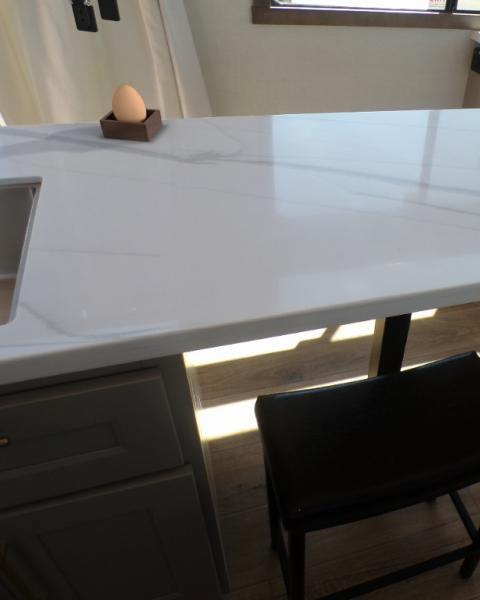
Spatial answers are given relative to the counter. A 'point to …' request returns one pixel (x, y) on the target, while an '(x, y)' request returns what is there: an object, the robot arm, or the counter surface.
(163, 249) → the counter surface
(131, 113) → the egg
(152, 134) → the open wooden tray
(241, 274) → the counter surface
